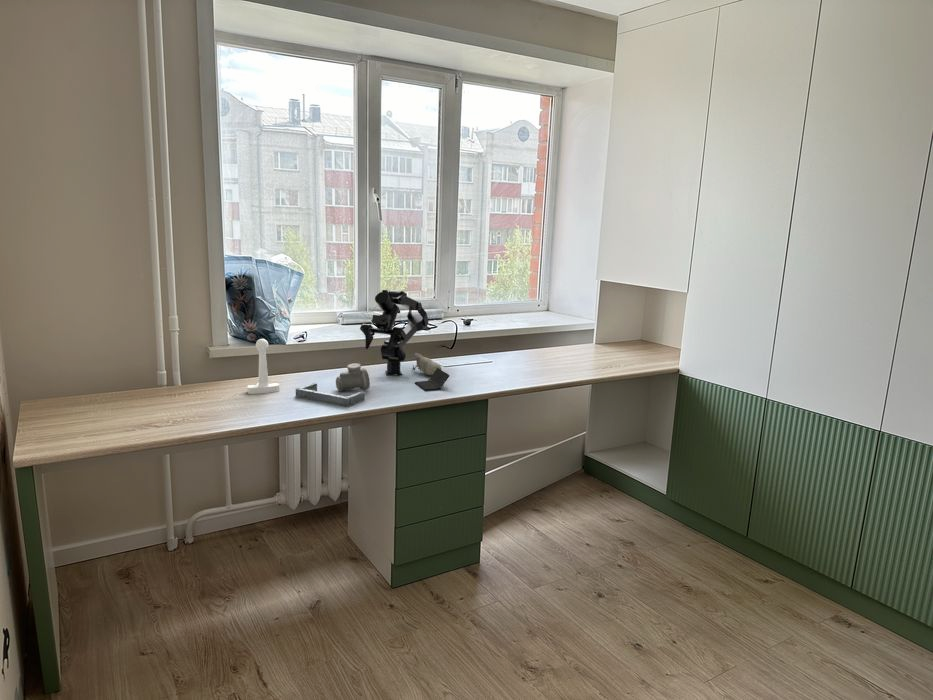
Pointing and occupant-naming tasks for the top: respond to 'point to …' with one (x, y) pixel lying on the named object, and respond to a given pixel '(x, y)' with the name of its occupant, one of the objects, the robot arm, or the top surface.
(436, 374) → the handheld gaming console
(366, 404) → the top surface
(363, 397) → the duct bracket
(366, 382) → the pipe fitting
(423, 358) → the decorative bird
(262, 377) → the joystick
